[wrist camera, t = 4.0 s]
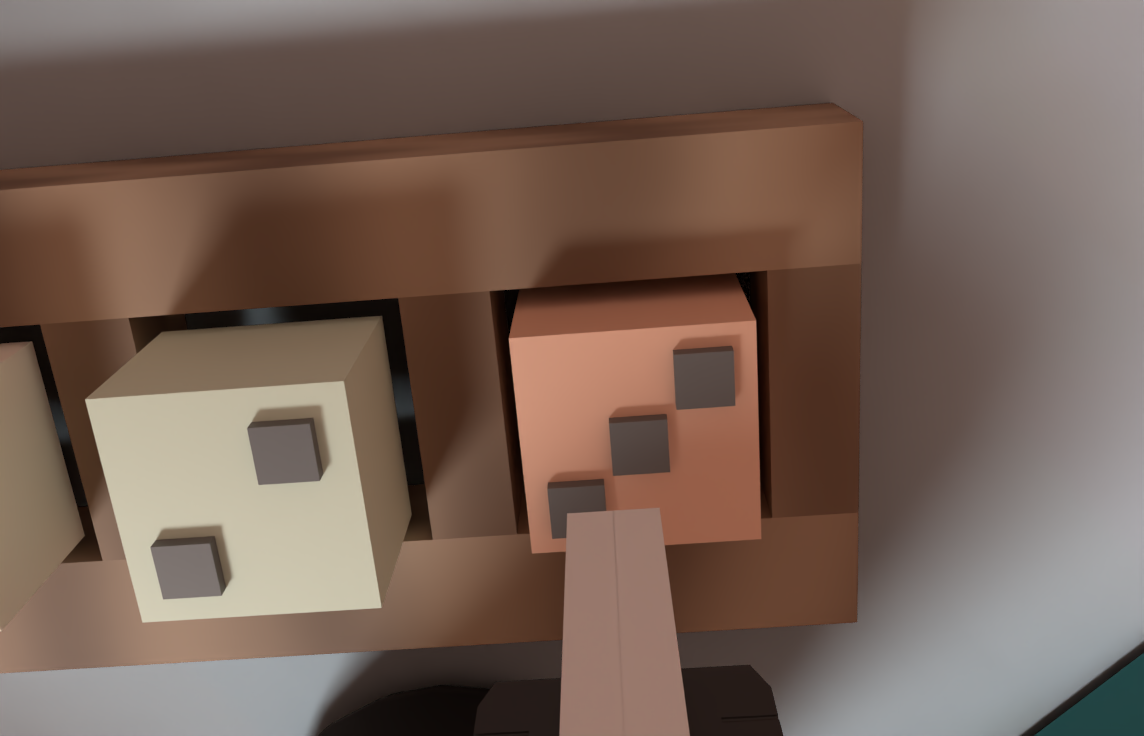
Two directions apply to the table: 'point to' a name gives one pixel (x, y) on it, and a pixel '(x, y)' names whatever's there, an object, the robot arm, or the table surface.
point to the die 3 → (639, 406)
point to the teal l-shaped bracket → (1107, 708)
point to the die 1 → (30, 483)
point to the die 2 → (256, 469)
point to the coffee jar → (415, 714)
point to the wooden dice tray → (460, 349)
